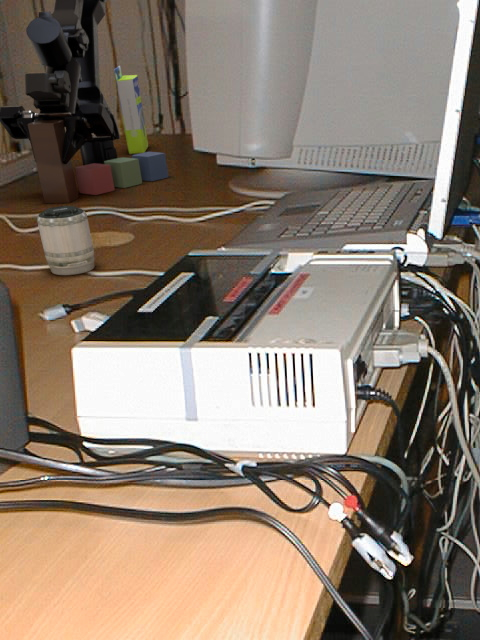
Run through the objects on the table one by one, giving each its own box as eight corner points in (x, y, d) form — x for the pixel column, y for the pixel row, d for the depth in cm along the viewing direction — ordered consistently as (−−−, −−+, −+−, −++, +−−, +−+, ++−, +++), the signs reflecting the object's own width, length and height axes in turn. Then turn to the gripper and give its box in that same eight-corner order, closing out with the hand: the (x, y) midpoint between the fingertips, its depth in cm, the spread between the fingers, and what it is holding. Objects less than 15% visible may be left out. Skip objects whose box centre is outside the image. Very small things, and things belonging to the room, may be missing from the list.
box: (145, 153, 203) (131, 68, 194) (127, 154, 203) (112, 69, 194) (149, 146, 212) (136, 64, 203) (131, 147, 212) (118, 65, 203)
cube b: (126, 181, 174) (122, 157, 172) (142, 183, 172) (138, 158, 170) (108, 186, 171) (103, 161, 169) (124, 188, 169) (120, 162, 167)
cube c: (98, 188, 170) (94, 163, 167) (114, 190, 167) (110, 164, 165) (79, 193, 166) (74, 167, 164) (95, 195, 164) (90, 169, 162)
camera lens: (42, 269, 122) (28, 209, 118) (86, 260, 125) (74, 201, 121) (58, 279, 117) (44, 216, 113) (104, 269, 120) (92, 208, 116)
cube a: (152, 175, 179) (149, 151, 177) (168, 177, 177) (165, 152, 175) (135, 179, 176) (131, 155, 174) (151, 181, 174) (147, 156, 171)
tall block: (55, 197, 164) (38, 120, 157) (79, 197, 163) (63, 119, 157) (44, 203, 160) (27, 124, 153) (69, 202, 159) (53, 123, 153)
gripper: (-13, 54, 154) (-25, 134, 150) (94, 50, 152) (83, 131, 148) (18, 99, 164) (7, 175, 161) (118, 96, 163) (109, 172, 159)
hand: (50, 163), depth 157 cm, fingers closed on tall block, 4 cm apart
